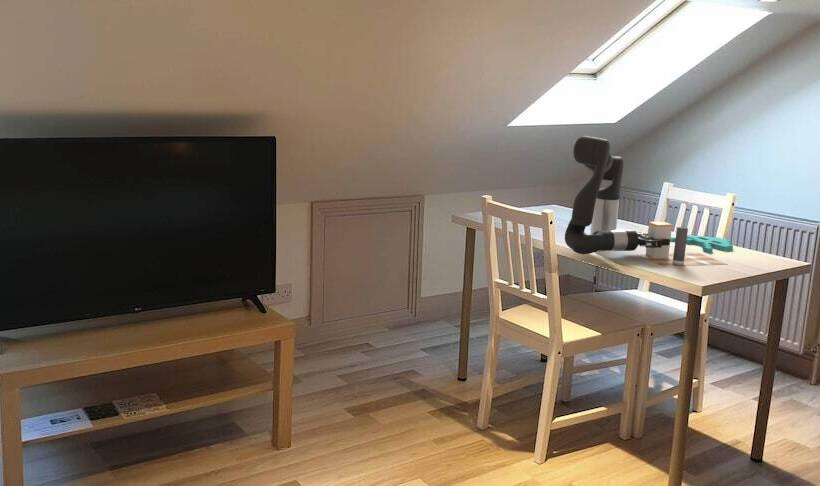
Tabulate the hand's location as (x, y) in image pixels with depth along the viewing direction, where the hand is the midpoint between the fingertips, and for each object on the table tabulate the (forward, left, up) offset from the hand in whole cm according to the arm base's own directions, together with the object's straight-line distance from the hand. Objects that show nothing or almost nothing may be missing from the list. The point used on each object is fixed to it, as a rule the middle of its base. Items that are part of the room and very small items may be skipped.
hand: (662, 239), depth 287 cm
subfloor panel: (+5, +5, -8) cm, 11 cm away
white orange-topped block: (0, -2, -6) cm, 6 cm away
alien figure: (-20, +32, -8) cm, 39 cm away
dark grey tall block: (+11, 0, -6) cm, 13 cm away
